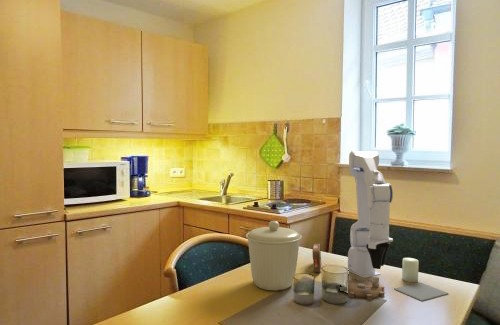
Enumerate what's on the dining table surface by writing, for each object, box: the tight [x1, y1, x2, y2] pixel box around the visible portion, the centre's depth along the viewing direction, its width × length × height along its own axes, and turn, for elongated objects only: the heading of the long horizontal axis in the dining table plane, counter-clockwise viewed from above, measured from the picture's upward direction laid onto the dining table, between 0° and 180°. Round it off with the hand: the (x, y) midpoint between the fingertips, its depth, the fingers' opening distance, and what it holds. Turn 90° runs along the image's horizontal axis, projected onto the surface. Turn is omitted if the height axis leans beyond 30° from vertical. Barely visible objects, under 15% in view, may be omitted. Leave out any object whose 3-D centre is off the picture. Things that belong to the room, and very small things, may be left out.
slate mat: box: [394, 281, 449, 302], centre depth 116 cm, size 10×12×1 cm
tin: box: [312, 243, 322, 273], centre depth 138 cm, size 15×3×8 cm, turn 168°
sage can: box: [401, 257, 420, 283], centre depth 126 cm, size 5×5×7 cm
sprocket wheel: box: [347, 275, 385, 301], centre depth 116 cm, size 14×14×4 cm
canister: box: [245, 220, 303, 291], centre depth 121 cm, size 18×18×21 cm
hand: (378, 266), depth 115 cm, fingers open, 3 cm apart
